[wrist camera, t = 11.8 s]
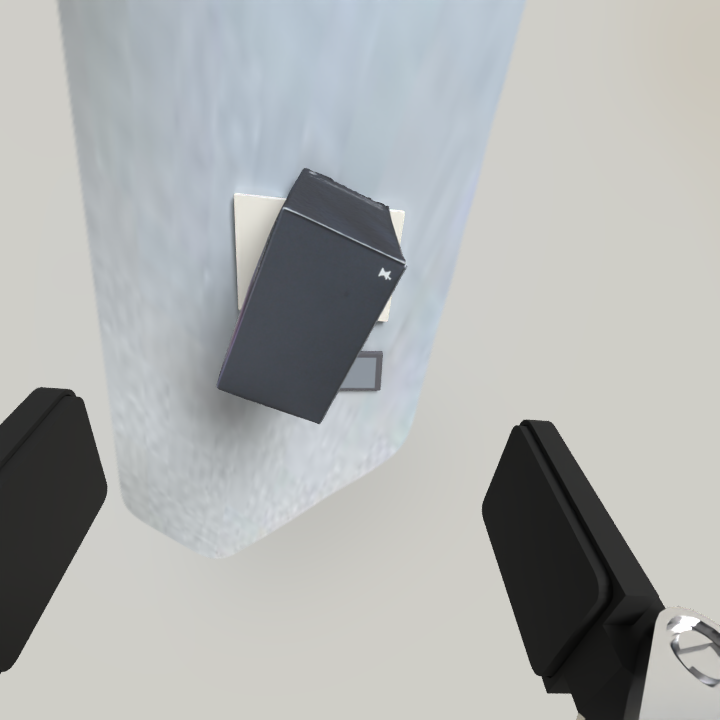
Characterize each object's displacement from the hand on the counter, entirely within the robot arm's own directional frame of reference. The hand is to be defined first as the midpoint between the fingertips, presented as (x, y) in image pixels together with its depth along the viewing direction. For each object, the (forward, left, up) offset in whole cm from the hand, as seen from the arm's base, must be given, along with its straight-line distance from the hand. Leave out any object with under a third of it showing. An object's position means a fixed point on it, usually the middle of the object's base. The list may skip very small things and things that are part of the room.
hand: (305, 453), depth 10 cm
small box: (+3, -1, -22) cm, 22 cm away
